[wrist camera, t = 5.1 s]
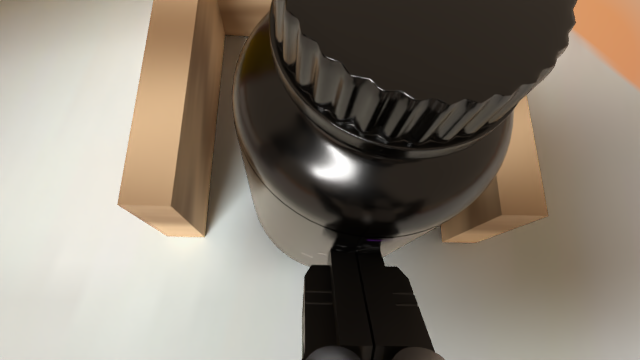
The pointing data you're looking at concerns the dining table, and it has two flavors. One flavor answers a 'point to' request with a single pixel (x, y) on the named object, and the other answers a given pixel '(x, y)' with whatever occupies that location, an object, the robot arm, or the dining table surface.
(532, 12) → the supplement bottle
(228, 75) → the dining table surface
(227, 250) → the dining table surface
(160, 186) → the frame
